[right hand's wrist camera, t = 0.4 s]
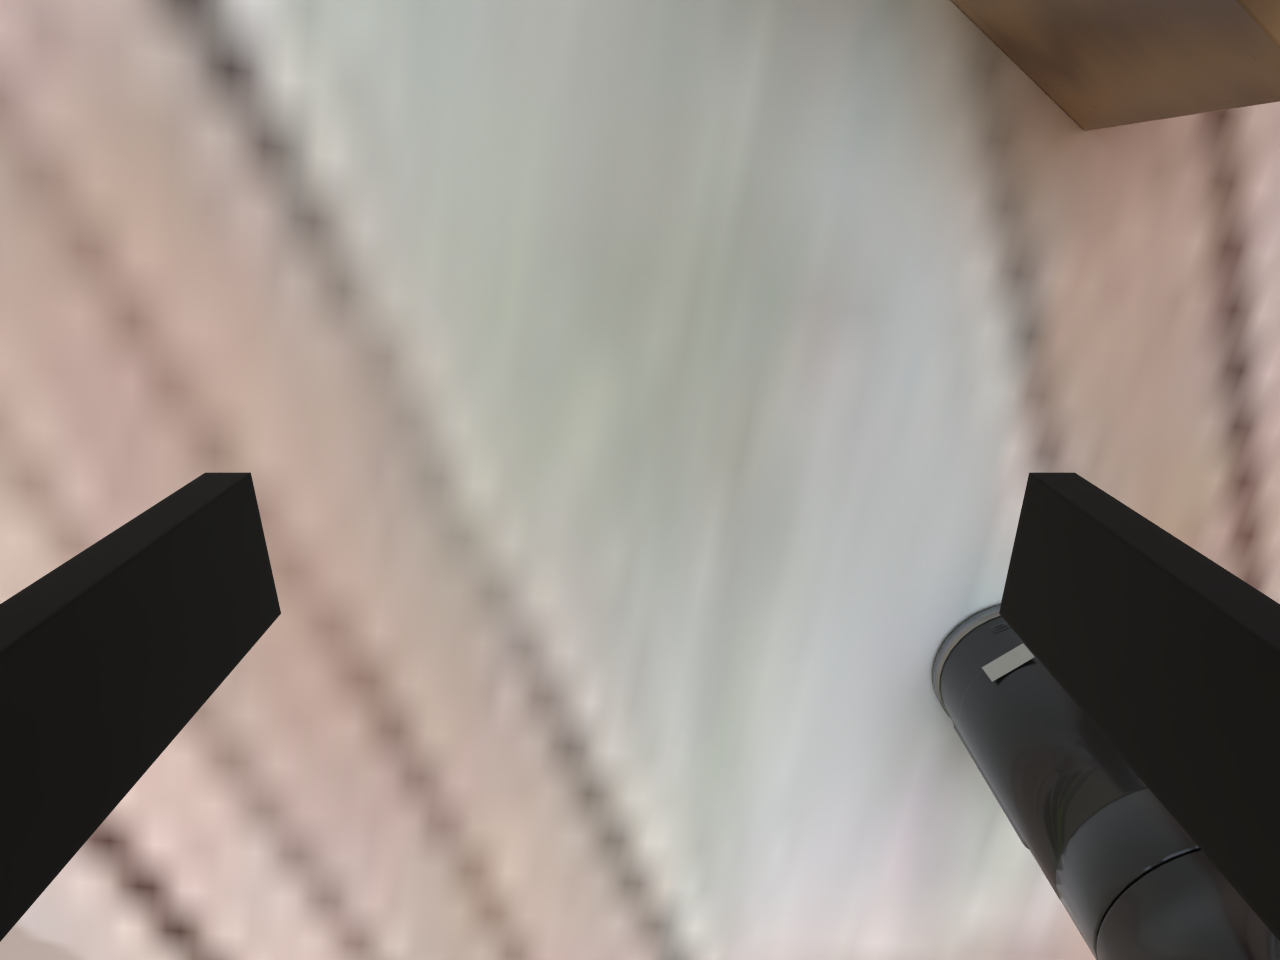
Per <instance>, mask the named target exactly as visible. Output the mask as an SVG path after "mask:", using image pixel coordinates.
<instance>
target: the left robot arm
mask: <svg viewBox="0 0 1280 960" xmlns="http://www.w3.org/2000/svg"><path fill="white" fill-rule="evenodd" d="M1000 607H1001V605H998V606H995V607H992V608H989V609H986V610H984V611H982V612H980V613H977V614H976V615H974V616H972V617H970V618H969V619H968V620H966V621H965V622H963V623H962V624H961V625H960V626H958V627H957V628H956V629H955V630H954V631H953V632H952V633H951V634H950V635H949V636H948V638H947V639H946V640H945V642H944V643H943V645H942V646H941V648H940V650H939V652H938V654H937V656H936V659H935V662H934V666H933V674H932V680H933V687H934V691H935V694H936V696H937V698H938V700H939V702H940V704H941V705H942V707H943V709H944V710H945V712H946V713H947V715H948V716H949V717H950V718H951V719H952V720H953V722H954V728H955V730H956V732H957V734H958V735H959V737H960V739H961V740H962V742H963V744H964V745H965V747H966V749H967V750H968V752H969V754H970V755H971V757H972V759H973V760H974V762H975V764H976V765H977V767H978V769H979V771H980V772H981V774H982V776H983V777H984V779H985V781H986V782H987V784H988V786H989V787H990V789H991V791H992V792H993V794H994V796H995V797H996V799H997V801H998V802H999V804H1000V806H1001V808H1002V809H1003V811H1004V813H1005V814H1006V816H1007V818H1008V819H1009V821H1010V823H1011V824H1012V826H1013V828H1014V829H1015V831H1016V833H1017V834H1018V836H1019V838H1020V840H1021V841H1022V843H1023V844H1024V846H1025V847H1026V848H1028V849H1029V850H1030V851H1031V852H1032V854H1033V856H1034V857H1035V859H1036V861H1037V862H1038V864H1039V866H1040V867H1041V869H1042V871H1043V872H1044V874H1045V876H1046V877H1047V879H1048V881H1049V882H1050V884H1051V886H1052V887H1053V889H1054V891H1055V893H1056V894H1057V896H1058V898H1059V899H1060V900H1061V902H1062V904H1063V905H1064V907H1065V909H1066V910H1067V912H1068V914H1069V915H1070V917H1071V919H1072V920H1073V922H1074V924H1075V925H1076V927H1077V929H1078V930H1079V932H1080V934H1081V935H1082V937H1083V939H1084V940H1085V942H1086V944H1087V945H1088V947H1089V949H1090V950H1091V952H1092V954H1093V955H1094V957H1095V959H1096V960H1280V941H1279V940H1278V939H1277V938H1276V937H1275V936H1274V934H1273V933H1272V932H1271V931H1270V930H1269V929H1268V927H1267V926H1266V925H1265V924H1264V923H1263V921H1262V920H1261V919H1260V918H1259V917H1258V916H1257V914H1256V913H1255V912H1254V911H1253V910H1252V909H1251V907H1250V906H1249V905H1248V904H1247V903H1246V902H1245V900H1244V899H1243V898H1242V897H1241V896H1240V895H1239V893H1238V892H1237V891H1236V890H1235V889H1234V888H1233V886H1232V885H1231V884H1230V883H1229V882H1228V881H1227V879H1226V878H1225V877H1224V876H1223V875H1222V874H1221V872H1220V871H1219V870H1218V869H1217V868H1216V867H1215V865H1214V864H1213V863H1212V862H1211V861H1210V860H1209V858H1208V857H1207V856H1206V855H1205V854H1204V853H1203V851H1202V850H1201V849H1200V848H1199V847H1198V845H1197V844H1196V843H1195V842H1194V841H1193V840H1192V838H1191V837H1190V836H1189V835H1188V834H1187V833H1186V831H1185V830H1184V829H1183V828H1182V827H1181V826H1180V824H1179V823H1178V822H1177V821H1176V820H1175V819H1174V817H1173V816H1172V815H1171V814H1170V813H1169V812H1168V810H1167V809H1166V808H1165V807H1164V806H1163V805H1162V803H1161V802H1160V801H1159V800H1158V799H1157V798H1156V796H1155V795H1154V794H1153V793H1152V792H1151V791H1150V789H1149V788H1148V787H1147V786H1146V785H1145V784H1144V782H1143V781H1142V780H1141V779H1140V778H1139V777H1138V775H1137V774H1136V773H1135V772H1134V771H1133V769H1132V768H1131V767H1130V766H1129V765H1128V764H1127V762H1126V761H1125V760H1124V759H1123V758H1122V757H1121V755H1120V754H1119V753H1118V752H1117V751H1116V750H1115V748H1114V747H1113V746H1112V745H1111V744H1110V743H1109V741H1108V740H1107V739H1106V738H1105V737H1104V736H1103V734H1102V733H1101V732H1100V731H1099V730H1098V729H1097V727H1096V726H1095V725H1094V724H1093V723H1092V722H1091V720H1090V719H1089V718H1088V717H1087V716H1086V715H1085V713H1084V712H1083V711H1082V710H1081V709H1080V708H1079V706H1078V705H1077V704H1076V703H1075V702H1074V701H1073V699H1072V698H1071V697H1070V696H1069V695H1068V693H1067V692H1066V691H1065V690H1064V689H1063V688H1062V686H1061V685H1060V684H1059V683H1058V682H1057V681H1056V679H1055V678H1054V677H1053V676H1052V675H1051V674H1050V672H1049V671H1048V670H1047V669H1046V668H1045V667H1044V665H1043V664H1042V663H1041V662H1040V661H1039V660H1038V658H1037V657H1036V656H1035V655H1034V654H1033V653H1032V651H1031V650H1030V649H1029V648H1028V647H1027V646H1026V644H1025V643H1024V642H1023V641H1022V640H1021V639H1020V637H1019V636H1018V635H1017V634H1016V633H1015V632H1014V630H1013V629H1012V628H1011V627H1010V626H1009V625H1008V623H1007V622H1006V621H1005V620H1004V619H1003V617H1002V616H1001V615H1000V614H999V611H1000Z"/></svg>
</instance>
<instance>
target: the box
mask: <svg viewBox="0 0 1280 960" xmlns="http://www.w3.org/2000/svg"><path fill="white" fill-rule="evenodd" d="M951 1H952V2H953V3H954V4H956V5H957V6H958V7H959V8H960V9H961V10H962V11H963V12H964V13H965V14H966V15H967V16H968V17H969V18H970V19H971V20H972V21H973V22H974V23H975V24H976V25H977V26H978V27H979V28H980V29H981V30H982V31H983V32H984V33H985V34H986V35H987V36H988V37H989V38H990V39H991V40H992V41H993V42H994V43H995V44H996V45H997V46H999V47H1000V48H1001V49H1002V50H1003V51H1004V52H1005V53H1006V54H1007V55H1008V56H1009V57H1010V58H1011V59H1012V60H1013V61H1014V62H1015V63H1016V64H1017V65H1018V66H1019V67H1020V68H1021V69H1022V70H1023V71H1024V72H1025V73H1026V74H1027V75H1028V76H1029V77H1030V78H1031V79H1032V80H1033V81H1034V82H1035V83H1036V84H1037V85H1038V86H1039V87H1040V88H1042V89H1043V90H1044V91H1045V92H1046V93H1047V94H1048V95H1049V96H1050V97H1051V98H1052V99H1053V100H1054V101H1055V102H1056V103H1057V104H1058V105H1059V106H1060V107H1061V108H1062V109H1063V110H1064V111H1065V112H1066V113H1067V114H1068V115H1069V116H1070V117H1071V118H1072V119H1073V120H1074V121H1075V122H1076V123H1077V124H1078V125H1079V126H1080V127H1081V128H1082V129H1083V130H1085V131H1087V130H1094V129H1101V128H1107V127H1114V126H1120V125H1127V124H1133V123H1140V122H1146V121H1153V120H1160V119H1166V118H1173V117H1179V116H1186V115H1192V114H1199V113H1206V112H1212V111H1219V110H1225V109H1232V108H1238V107H1245V106H1252V105H1258V104H1265V103H1271V102H1278V101H1280V0H951Z"/></svg>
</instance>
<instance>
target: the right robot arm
mask: <svg viewBox="0 0 1280 960" xmlns="http://www.w3.org/2000/svg"><path fill="white" fill-rule="evenodd" d="M280 614H281V611H280V607H279V602H278V597H277V593H276V588H275V583H274V579H273V574H272V570H271V565H270V560H269V556H268V551H267V546H266V542H265V537H264V532H263V528H262V523H261V518H260V514H259V509H258V505H257V500H256V495H255V491H254V486H253V481H252V477H251V473H204V474H203V475H201V476H199V477H198V478H196V479H195V480H193V481H192V482H190V483H189V484H187V485H185V486H184V487H182V488H181V489H179V490H178V491H176V492H175V493H173V494H171V495H170V496H168V497H167V498H165V499H164V500H162V501H160V502H159V503H157V504H156V505H154V506H153V507H151V508H150V509H148V510H146V511H145V512H143V513H142V514H140V515H139V516H137V517H136V518H134V519H132V520H131V521H129V522H128V523H126V524H125V525H123V526H122V527H120V528H118V529H117V530H115V531H114V532H112V533H111V534H109V535H108V536H106V537H104V538H103V539H101V540H100V541H98V542H97V543H95V544H94V545H92V546H90V547H89V548H87V549H86V550H84V551H83V552H81V553H79V554H78V555H76V556H75V557H73V558H72V559H70V560H69V561H67V562H65V563H64V564H62V565H61V566H59V567H58V568H56V569H55V570H53V571H51V572H50V573H48V574H47V575H45V576H44V577H42V578H41V579H39V580H37V581H36V582H34V583H33V584H31V585H30V586H28V587H27V588H25V589H23V590H22V591H20V592H19V593H17V594H16V595H14V596H13V597H11V598H9V599H8V600H6V601H5V602H3V603H2V604H0V941H1V940H2V939H3V938H4V937H5V936H6V934H7V933H8V932H9V931H10V930H11V929H12V927H13V926H14V925H15V924H16V923H17V921H18V920H19V919H20V918H21V917H22V916H23V914H24V913H25V912H26V911H27V910H28V909H29V907H30V906H31V905H32V904H33V903H34V902H35V900H36V899H37V898H38V897H39V896H40V895H41V893H42V892H43V891H44V890H45V889H46V888H47V886H48V885H49V884H50V883H51V882H52V881H53V879H54V878H55V877H56V876H57V875H58V874H59V872H60V871H61V870H62V869H63V868H64V867H65V865H66V864H67V863H68V862H69V861H70V860H71V858H72V857H73V856H74V855H75V854H76V853H77V851H78V850H79V849H80V848H81V847H82V845H83V844H84V843H85V842H86V841H87V840H88V838H89V837H90V836H91V835H92V834H93V833H94V831H95V830H96V829H97V828H98V827H99V826H100V824H101V823H102V822H103V821H104V820H105V819H106V817H107V816H108V815H109V814H110V813H111V812H112V810H113V809H114V808H115V807H116V806H117V805H118V803H119V802H120V801H121V800H122V799H123V798H124V796H125V795H126V794H127V793H128V792H129V791H130V789H131V788H132V787H133V786H134V785H135V784H136V782H137V781H138V780H139V779H140V778H141V777H142V775H143V774H144V773H145V772H146V771H147V769H148V768H149V767H150V766H151V765H152V764H153V762H154V761H155V760H156V759H157V758H158V757H159V755H160V754H161V753H162V752H163V751H164V750H165V748H166V747H167V746H168V745H169V744H170V743H171V741H172V740H173V739H174V738H175V737H176V736H177V734H178V733H179V732H180V731H181V730H182V729H183V727H184V726H185V725H186V724H187V723H188V722H189V720H190V719H191V718H192V717H193V716H194V715H195V713H196V712H197V711H198V710H199V709H200V708H201V706H202V705H203V704H204V703H205V702H206V701H207V699H208V698H209V697H210V696H211V695H212V693H213V692H214V691H215V690H216V689H217V688H218V686H219V685H220V684H221V683H222V682H223V681H224V679H225V678H226V677H227V676H228V675H229V674H230V672H231V671H232V670H233V669H234V668H235V667H236V665H237V664H238V663H239V662H240V661H241V660H242V658H243V657H244V656H245V655H246V654H247V653H248V651H249V650H250V649H251V648H252V647H253V646H254V644H255V643H256V642H257V641H258V640H259V639H260V637H261V636H262V635H263V634H264V633H265V632H266V630H267V629H268V628H269V627H270V626H271V625H272V623H273V622H274V621H275V620H276V619H277V617H278V616H279V615H280ZM999 614H1000V615H1001V616H1002V617H1003V619H1004V620H1005V621H1006V622H1007V623H1008V625H1009V626H1010V627H1011V628H1012V629H1013V630H1014V632H1015V633H1016V634H1017V635H1018V636H1019V637H1020V639H1021V640H1022V641H1023V642H1024V643H1025V644H1026V646H1027V647H1028V648H1029V649H1030V650H1031V651H1032V653H1033V654H1034V655H1035V656H1036V657H1037V658H1038V660H1039V661H1040V662H1041V663H1042V664H1043V665H1044V667H1045V668H1046V669H1047V670H1048V671H1049V672H1050V674H1051V675H1052V676H1053V677H1054V678H1055V679H1056V681H1057V682H1058V683H1059V684H1060V685H1061V686H1062V688H1063V689H1064V690H1065V691H1066V692H1067V693H1068V695H1069V696H1070V697H1071V698H1072V699H1073V701H1074V702H1075V703H1076V704H1077V705H1078V706H1079V708H1080V709H1081V710H1082V711H1083V712H1084V713H1085V715H1086V716H1087V717H1088V718H1089V719H1090V720H1091V722H1092V723H1093V724H1094V725H1095V726H1096V727H1097V729H1098V730H1099V731H1100V732H1101V733H1102V734H1103V736H1104V737H1105V738H1106V739H1107V740H1108V741H1109V743H1110V744H1111V745H1112V746H1113V747H1114V748H1115V750H1116V751H1117V752H1118V753H1119V754H1120V755H1121V757H1122V758H1123V759H1124V760H1125V761H1126V762H1127V764H1128V765H1129V766H1130V767H1131V768H1132V769H1133V771H1134V772H1135V773H1136V774H1137V775H1138V777H1139V778H1140V779H1141V780H1142V781H1143V782H1144V784H1145V785H1146V786H1147V787H1148V788H1149V789H1150V791H1151V792H1152V793H1153V794H1154V795H1155V796H1156V798H1157V799H1158V800H1159V801H1160V802H1161V803H1162V805H1163V806H1164V807H1165V808H1166V809H1167V810H1168V812H1169V813H1170V814H1171V815H1172V816H1173V817H1174V819H1175V820H1176V821H1177V822H1178V823H1179V824H1180V826H1181V827H1182V828H1183V829H1184V830H1185V831H1186V833H1187V834H1188V835H1189V836H1190V837H1191V838H1192V840H1193V841H1194V842H1195V843H1196V844H1197V845H1198V847H1199V848H1200V849H1201V850H1202V851H1203V853H1204V854H1205V855H1206V856H1207V857H1208V858H1209V860H1210V861H1211V862H1212V863H1213V864H1214V865H1215V867H1216V868H1217V869H1218V870H1219V871H1220V872H1221V874H1222V875H1223V876H1224V877H1225V878H1226V879H1227V881H1228V882H1229V883H1230V884H1231V885H1232V886H1233V888H1234V889H1235V890H1236V891H1237V892H1238V893H1239V895H1240V896H1241V897H1242V898H1243V899H1244V900H1245V902H1246V903H1247V904H1248V905H1249V906H1250V907H1251V909H1252V910H1253V911H1254V912H1255V913H1256V914H1257V916H1258V917H1259V918H1260V919H1261V920H1262V921H1263V923H1264V924H1265V925H1266V926H1267V927H1268V929H1269V930H1270V931H1271V932H1272V933H1273V934H1274V936H1275V937H1276V938H1277V939H1278V940H1279V941H1280V604H1278V603H1277V602H1275V601H1274V600H1272V599H1271V598H1269V597H1267V596H1266V595H1264V594H1263V593H1261V592H1260V591H1258V590H1257V589H1255V588H1253V587H1252V586H1250V585H1249V584H1247V583H1246V582H1244V581H1243V580H1241V579H1239V578H1238V577H1236V576H1235V575H1233V574H1232V573H1230V572H1229V571H1227V570H1225V569H1224V568H1222V567H1221V566H1219V565H1218V564H1216V563H1215V562H1213V561H1211V560H1210V559H1208V558H1207V557H1205V556H1204V555H1202V554H1201V553H1199V552H1197V551H1196V550H1194V549H1193V548H1191V547H1190V546H1188V545H1186V544H1185V543H1183V542H1182V541H1180V540H1179V539H1177V538H1176V537H1174V536H1172V535H1171V534H1169V533H1168V532H1166V531H1165V530H1163V529H1162V528H1160V527H1158V526H1157V525H1155V524H1154V523H1152V522H1151V521H1149V520H1148V519H1146V518H1144V517H1143V516H1141V515H1140V514H1138V513H1137V512H1135V511H1134V510H1132V509H1130V508H1129V507H1127V506H1126V505H1124V504H1123V503H1121V502H1120V501H1118V500H1116V499H1115V498H1113V497H1112V496H1110V495H1109V494H1107V493H1105V492H1104V491H1102V490H1101V489H1099V488H1098V487H1096V486H1095V485H1093V484H1091V483H1090V482H1088V481H1087V480H1085V479H1084V478H1082V477H1081V476H1079V475H1077V474H1076V473H1029V477H1028V481H1027V486H1026V491H1025V495H1024V500H1023V505H1022V509H1021V514H1020V518H1019V523H1018V528H1017V532H1016V537H1015V542H1014V546H1013V551H1012V556H1011V560H1010V565H1009V570H1008V574H1007V579H1006V583H1005V588H1004V593H1003V597H1002V602H1001V607H1000V611H999Z"/></svg>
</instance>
